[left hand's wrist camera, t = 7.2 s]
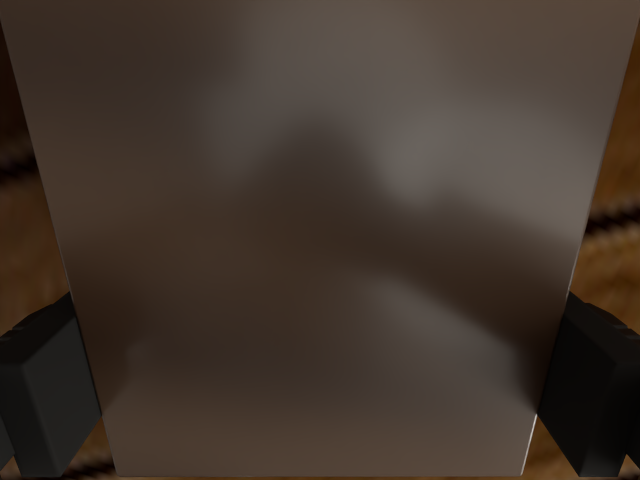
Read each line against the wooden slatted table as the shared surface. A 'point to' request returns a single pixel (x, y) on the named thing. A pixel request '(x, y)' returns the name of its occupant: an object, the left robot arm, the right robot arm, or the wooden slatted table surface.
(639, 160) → the wooden slatted table surface
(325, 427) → the cabinet
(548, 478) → the wooden slatted table surface
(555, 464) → the wooden slatted table surface
